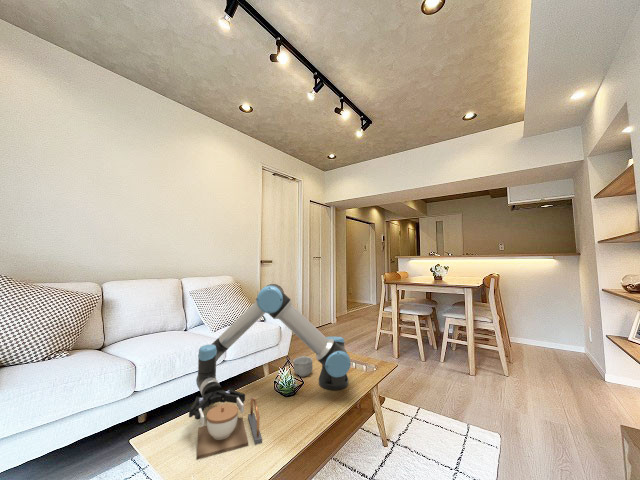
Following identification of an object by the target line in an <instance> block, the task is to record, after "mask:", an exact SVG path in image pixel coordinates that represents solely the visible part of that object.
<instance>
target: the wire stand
mask: <svg viewBox="0 0 640 480" xmlns="http://www.w3.org/2000/svg"><path fill="white" fill-rule="evenodd" d="M247 420H248V423H249V426H250V430H251V434H252V439H253V442H254V445H255V446H256V445H259V444H262V443H263V436H262V433H261V430H260V429H259V436H258V437H257V436H256V429H257V416H256V413H254V412H253V415H251V414H250V413H249V414H247Z"/></svg>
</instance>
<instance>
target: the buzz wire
mask: <svg viewBox="0 0 640 480" xmlns="http://www.w3.org/2000/svg"><path fill="white" fill-rule="evenodd" d="M257 401H258V400H257V399H256V398H255V397H254V396H251V397H250V410H249V411H250V413H249V414H251V415H253V413H254V410H255V417H256V421H257V429H256V436H257V437H258V436H259V430H260V412H259V407H258V402H257Z"/></svg>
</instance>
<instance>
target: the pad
mask: <svg viewBox="0 0 640 480" xmlns="http://www.w3.org/2000/svg"><path fill="white" fill-rule="evenodd" d="M197 429H198V430H197V444H196V445H197V447H196V449H197V451H196V460H200V459H204V458H208V457H210V456H215V455H219V454H222V453H223V454H224V453H226V452H229V451H233V450H237V449H241V448H245V447H247V446H249V440H248V436H247V435H248V434H247V432H246V426H245V422H244V418H243V416H242V417H238V419H237V424H236V427H235V429H234V430H233V432H232V433H231V435H230V436H229V437H227V438H226V439H223V440H216V439H214V438H213V437H212V436H211V435H210V434H209V432H208V429H207V425H203V426H202V425H201V426H199V427H197Z"/></svg>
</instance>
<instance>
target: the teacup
mask: <svg viewBox="0 0 640 480" xmlns="http://www.w3.org/2000/svg"><path fill="white" fill-rule="evenodd" d="M292 363H293V372H294V374H295V375H297V374H298V375H299V376H298V375H297V376H298V377H307V376H309V375H310V374H311V373H312V371H313V358H312V357H310V356H306V355H302V356H298V357H296V358H294V359H293V360H292Z"/></svg>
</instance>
